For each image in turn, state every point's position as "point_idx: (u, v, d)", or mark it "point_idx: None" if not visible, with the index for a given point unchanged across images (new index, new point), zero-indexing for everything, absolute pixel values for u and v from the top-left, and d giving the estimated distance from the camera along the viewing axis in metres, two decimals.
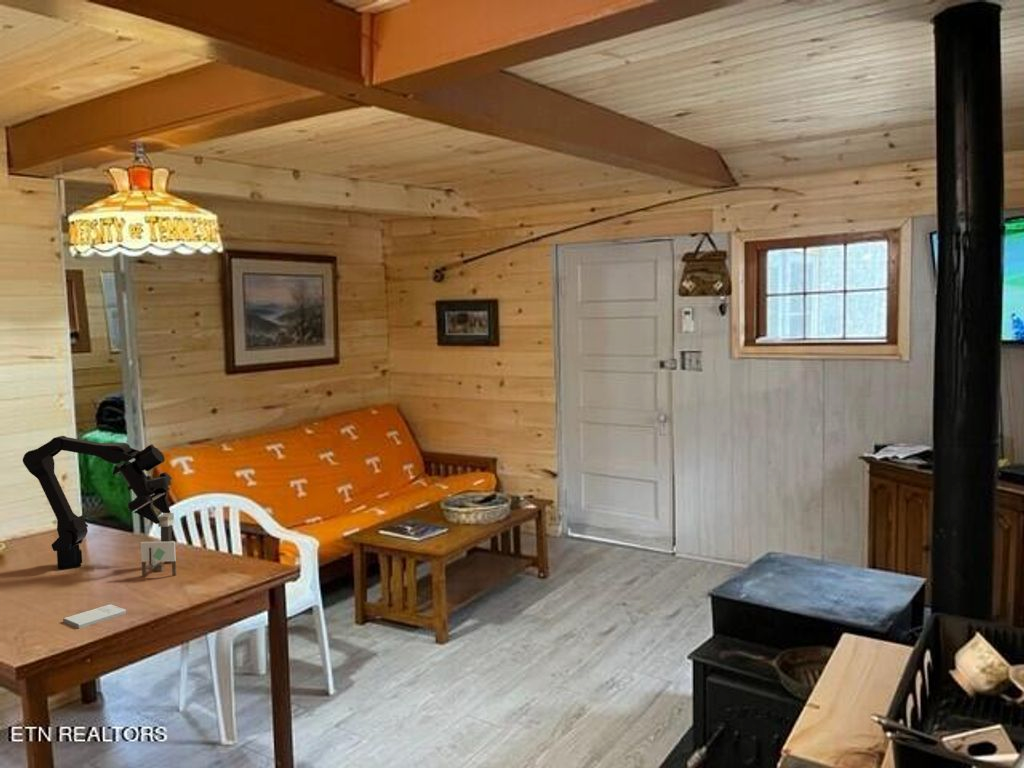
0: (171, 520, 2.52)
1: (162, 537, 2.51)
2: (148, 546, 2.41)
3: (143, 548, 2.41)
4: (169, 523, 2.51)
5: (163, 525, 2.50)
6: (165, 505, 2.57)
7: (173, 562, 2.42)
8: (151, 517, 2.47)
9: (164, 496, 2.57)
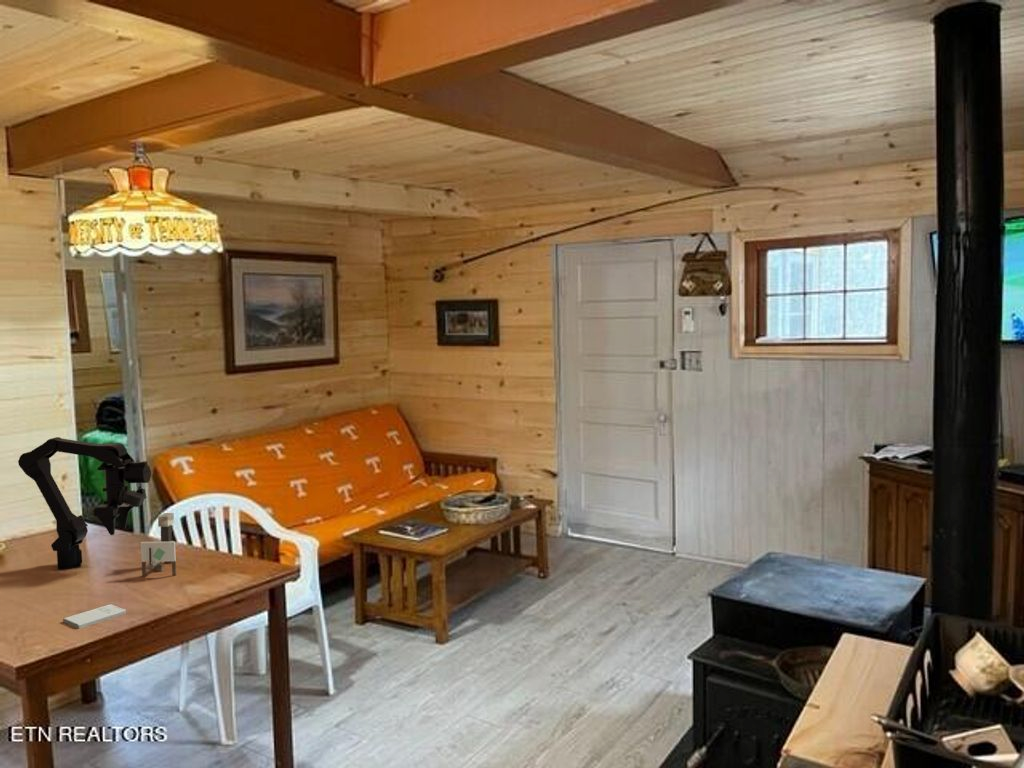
0: (171, 520, 2.52)
1: (162, 537, 2.51)
2: (148, 546, 2.41)
3: (143, 548, 2.41)
4: (169, 523, 2.51)
5: (163, 525, 2.50)
6: (125, 517, 2.56)
7: (173, 562, 2.42)
8: (109, 527, 2.47)
9: (129, 508, 2.56)
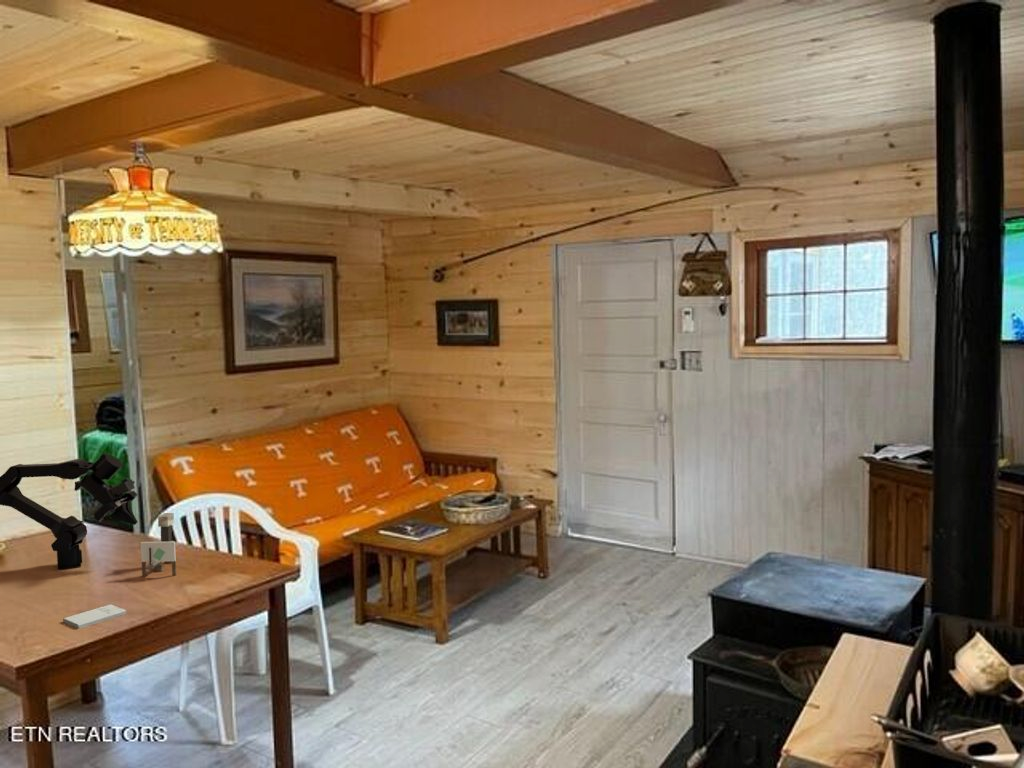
0: (171, 520, 2.52)
1: (162, 537, 2.51)
2: (148, 546, 2.41)
3: (143, 548, 2.41)
4: (169, 523, 2.51)
5: (163, 525, 2.50)
6: None
7: (173, 562, 2.42)
8: (127, 519, 2.51)
9: (126, 505, 2.52)
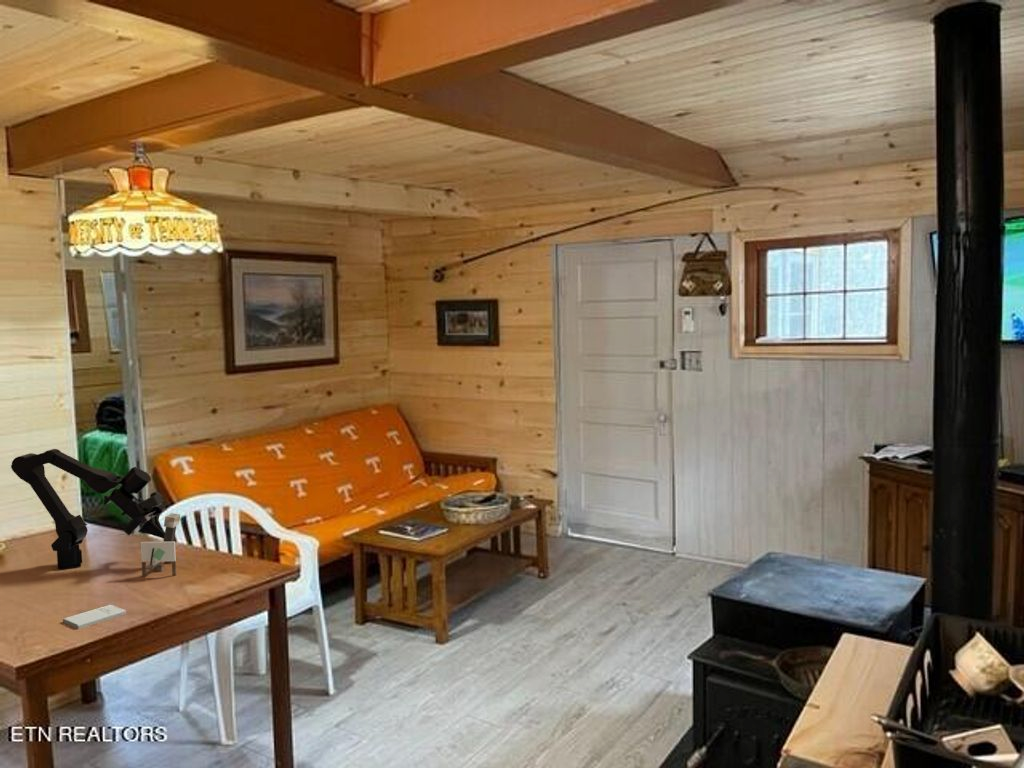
0: (177, 521, 2.52)
1: (165, 537, 2.51)
2: (148, 546, 2.41)
3: (143, 548, 2.41)
4: (175, 524, 2.51)
5: (169, 526, 2.50)
6: None
7: (173, 562, 2.42)
8: (156, 533, 2.51)
9: (155, 518, 2.53)
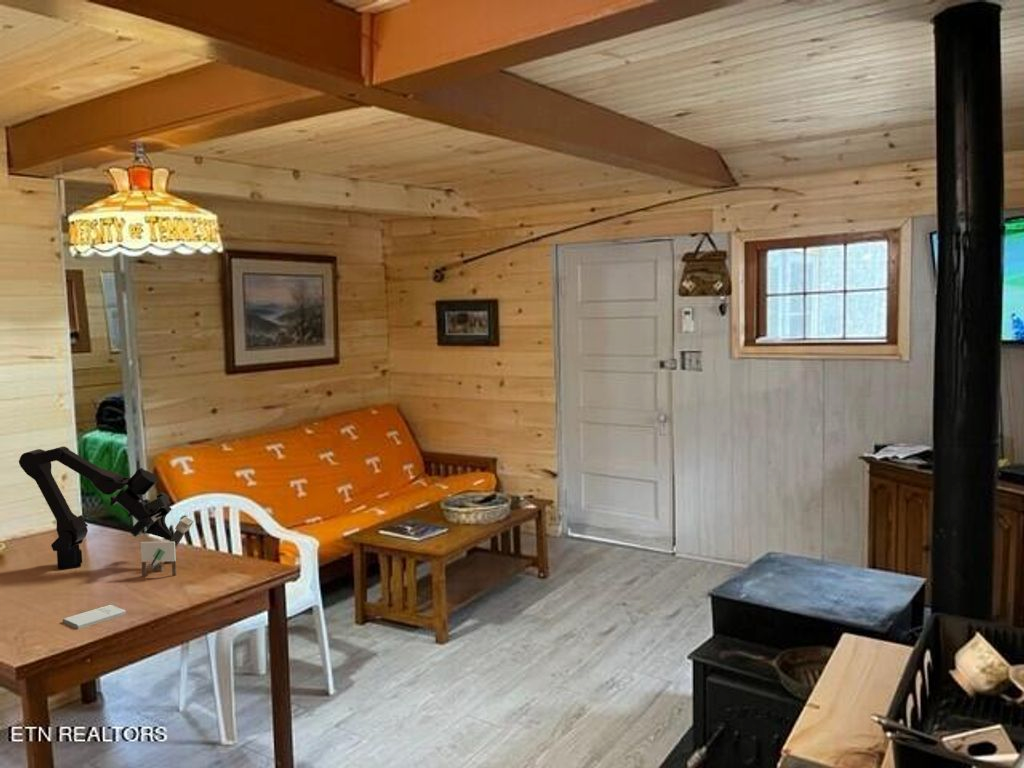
0: (188, 527, 2.53)
1: (172, 539, 2.51)
2: (148, 546, 2.41)
3: (143, 548, 2.41)
4: (185, 530, 2.51)
5: (180, 530, 2.50)
6: None
7: (173, 562, 2.42)
8: (162, 534, 2.51)
9: (161, 520, 2.53)
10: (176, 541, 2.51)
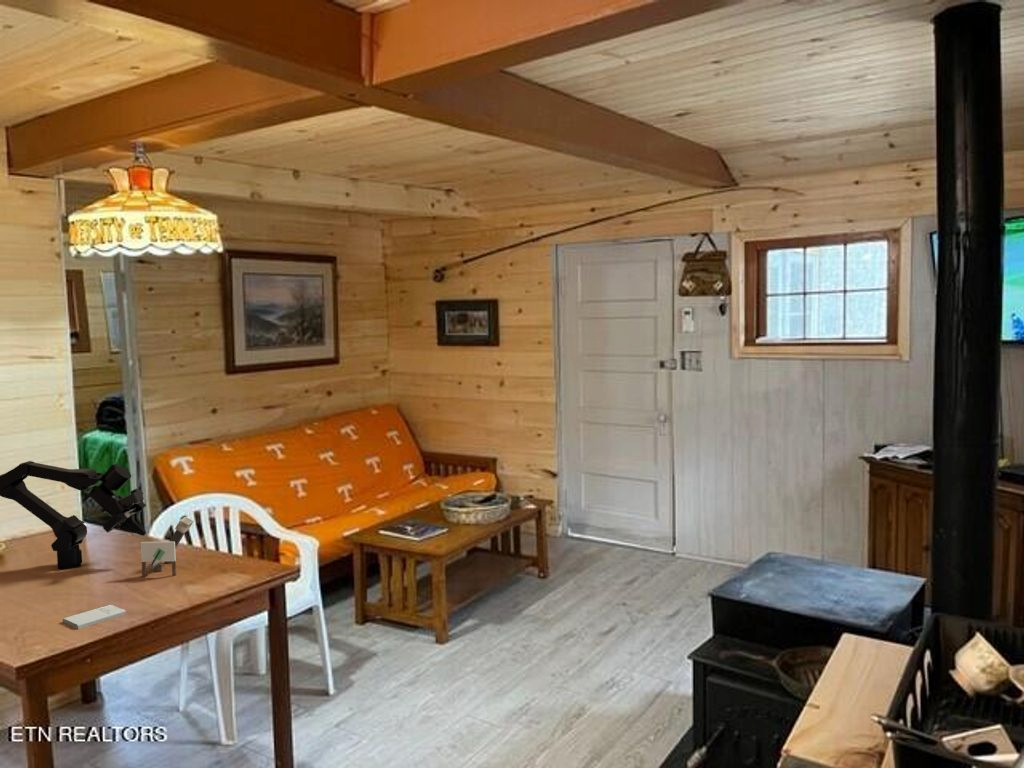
0: (188, 527, 2.53)
1: (172, 539, 2.51)
2: (148, 546, 2.41)
3: (143, 548, 2.41)
4: (185, 530, 2.51)
5: (180, 530, 2.50)
6: None
7: (173, 562, 2.42)
8: (136, 530, 2.51)
9: (135, 516, 2.52)
10: (176, 541, 2.51)
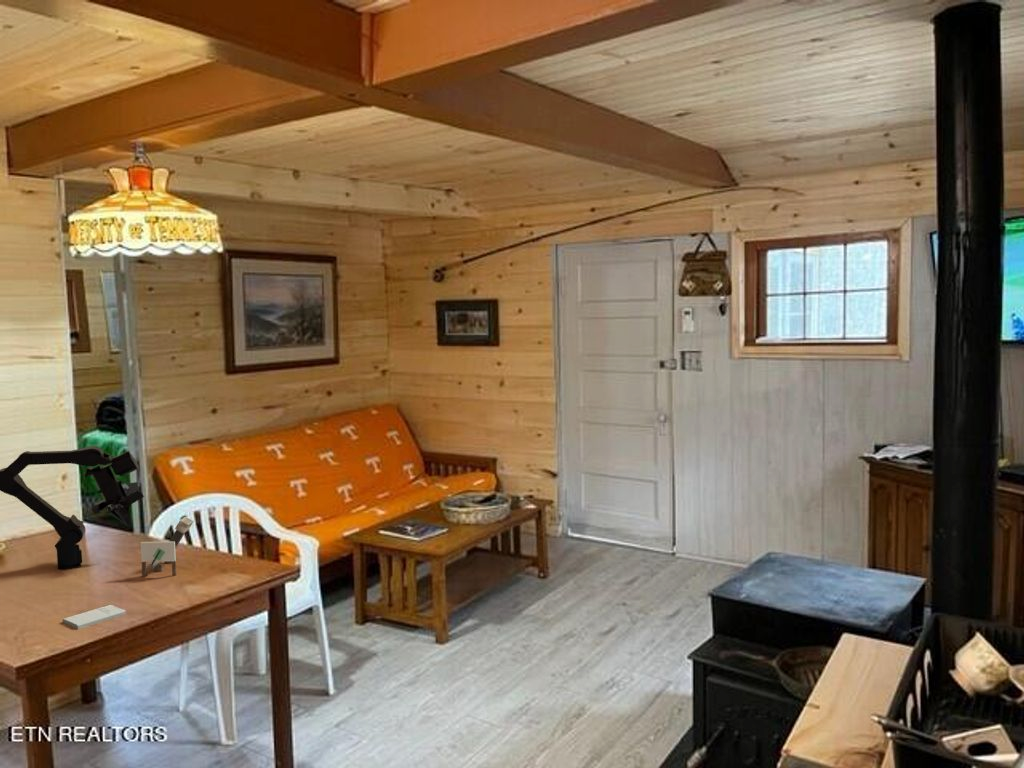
0: (188, 527, 2.53)
1: (172, 539, 2.51)
2: (148, 546, 2.41)
3: (143, 548, 2.41)
4: (185, 530, 2.51)
5: (180, 530, 2.50)
6: None
7: (173, 562, 2.42)
8: (127, 517, 2.57)
9: None
10: (176, 541, 2.51)
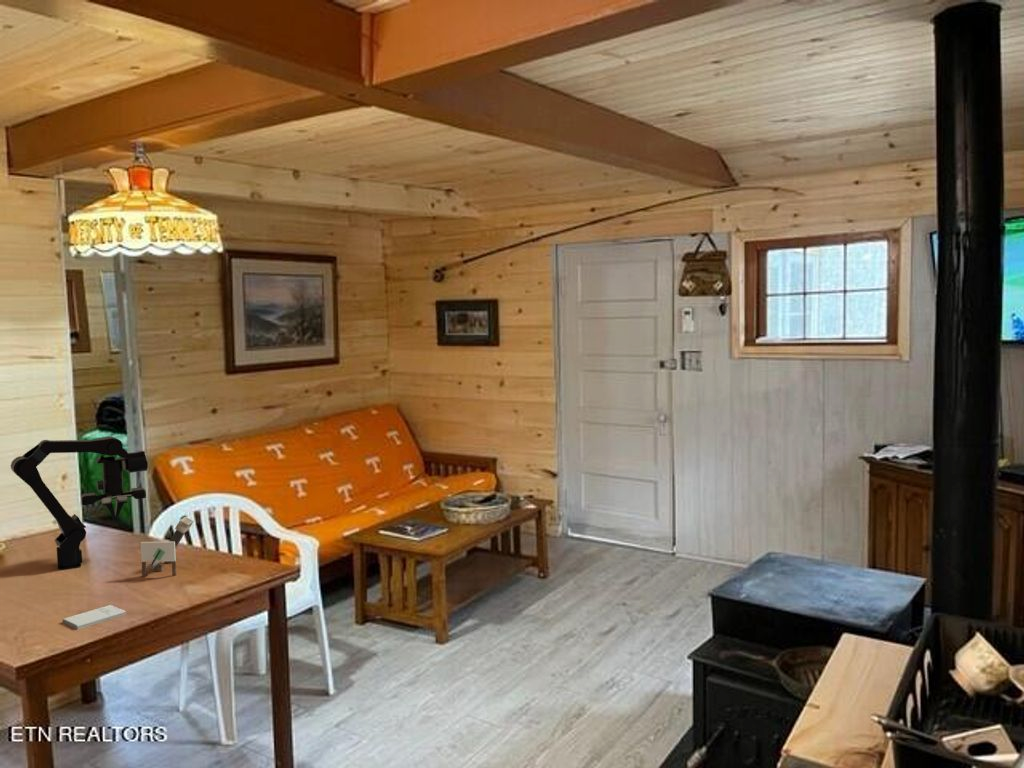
0: (188, 527, 2.53)
1: (172, 539, 2.51)
2: (148, 546, 2.41)
3: (143, 548, 2.41)
4: (185, 530, 2.51)
5: (180, 530, 2.50)
6: None
7: (173, 562, 2.42)
8: None
9: None
10: (176, 541, 2.51)
